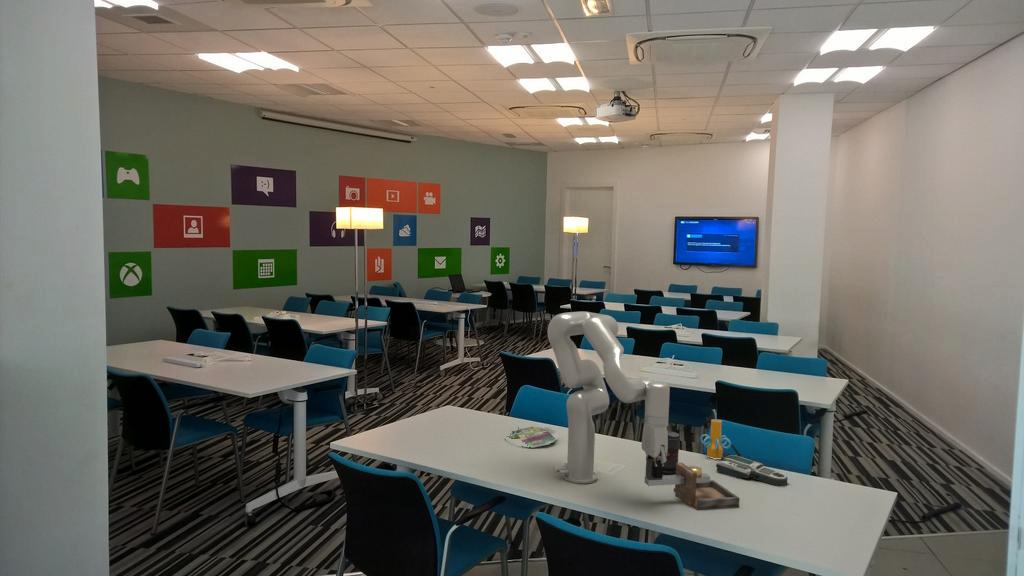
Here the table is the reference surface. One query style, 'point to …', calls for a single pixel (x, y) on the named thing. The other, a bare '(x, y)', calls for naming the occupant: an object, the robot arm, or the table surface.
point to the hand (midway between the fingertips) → (654, 474)
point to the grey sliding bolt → (668, 476)
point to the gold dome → (697, 470)
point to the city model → (535, 436)
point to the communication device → (749, 469)
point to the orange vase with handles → (715, 440)
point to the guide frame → (703, 492)
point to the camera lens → (671, 454)
